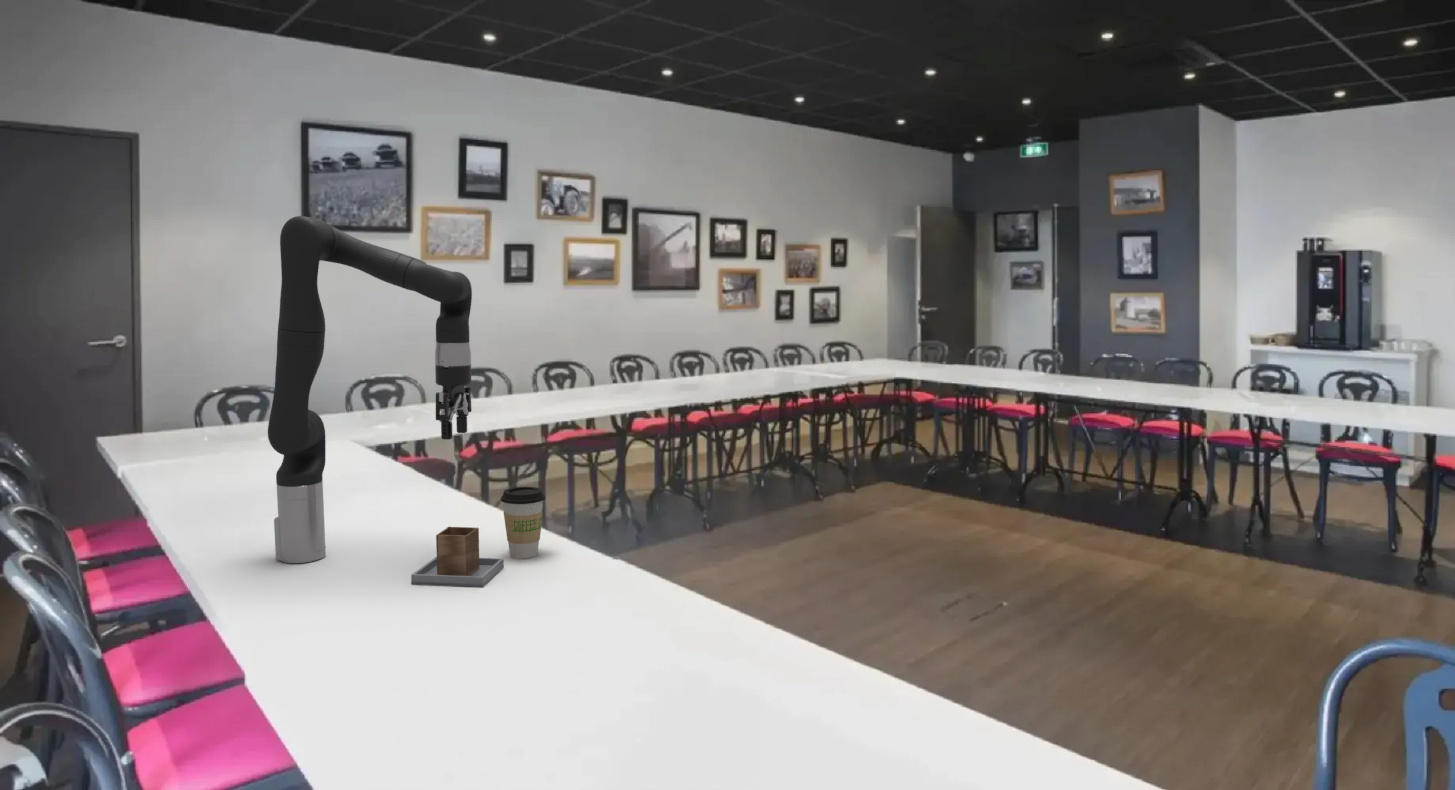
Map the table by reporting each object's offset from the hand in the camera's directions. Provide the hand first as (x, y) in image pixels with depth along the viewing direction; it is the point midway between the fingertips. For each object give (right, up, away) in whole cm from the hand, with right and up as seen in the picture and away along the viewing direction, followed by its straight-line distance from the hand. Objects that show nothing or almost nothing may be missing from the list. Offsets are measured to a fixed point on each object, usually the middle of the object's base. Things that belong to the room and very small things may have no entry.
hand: (454, 435), depth 195 cm
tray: (+4, -29, -9) cm, 31 cm away
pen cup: (+4, -29, -9) cm, 30 cm away
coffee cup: (+14, -28, +6) cm, 32 cm away
